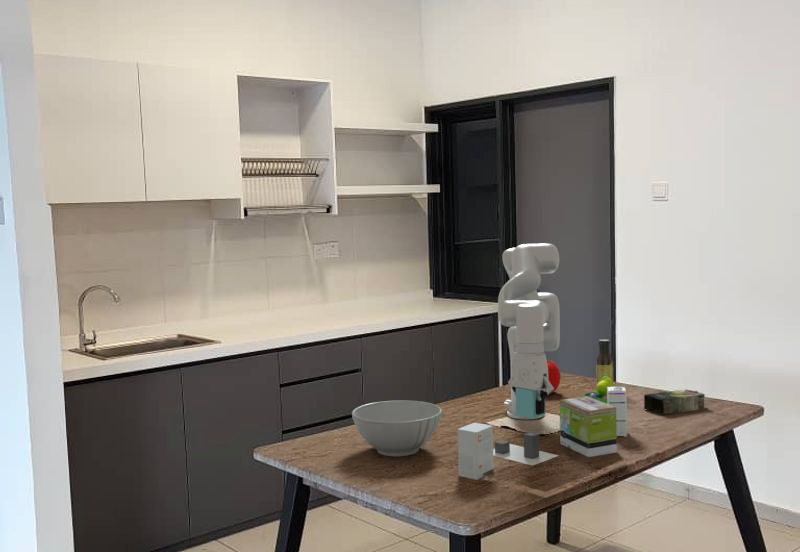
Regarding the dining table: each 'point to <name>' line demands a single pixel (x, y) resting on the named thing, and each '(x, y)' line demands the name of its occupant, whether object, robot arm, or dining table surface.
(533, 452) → the post
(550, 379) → the tomato
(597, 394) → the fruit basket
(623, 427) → the syrup box
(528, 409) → the teal rectangular block
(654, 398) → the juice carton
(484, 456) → the small box
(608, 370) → the sauce bottle
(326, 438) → the dining table surface
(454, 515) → the dining table surface
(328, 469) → the dining table surface
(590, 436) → the tea box
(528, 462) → the board
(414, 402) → the decorative bowl
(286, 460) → the dining table surface
